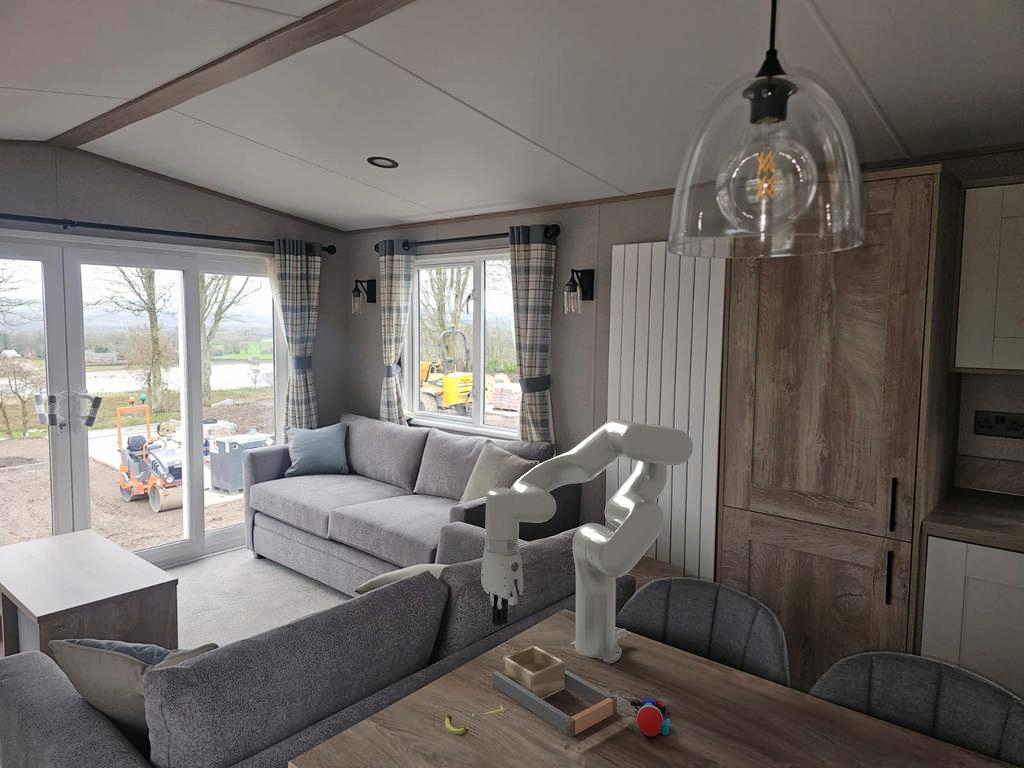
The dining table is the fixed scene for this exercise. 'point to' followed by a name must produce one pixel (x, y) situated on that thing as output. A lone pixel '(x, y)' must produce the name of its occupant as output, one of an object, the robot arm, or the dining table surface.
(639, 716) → the toy figure
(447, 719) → the key
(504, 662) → the crate
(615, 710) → the rail bay
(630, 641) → the dining table surface
